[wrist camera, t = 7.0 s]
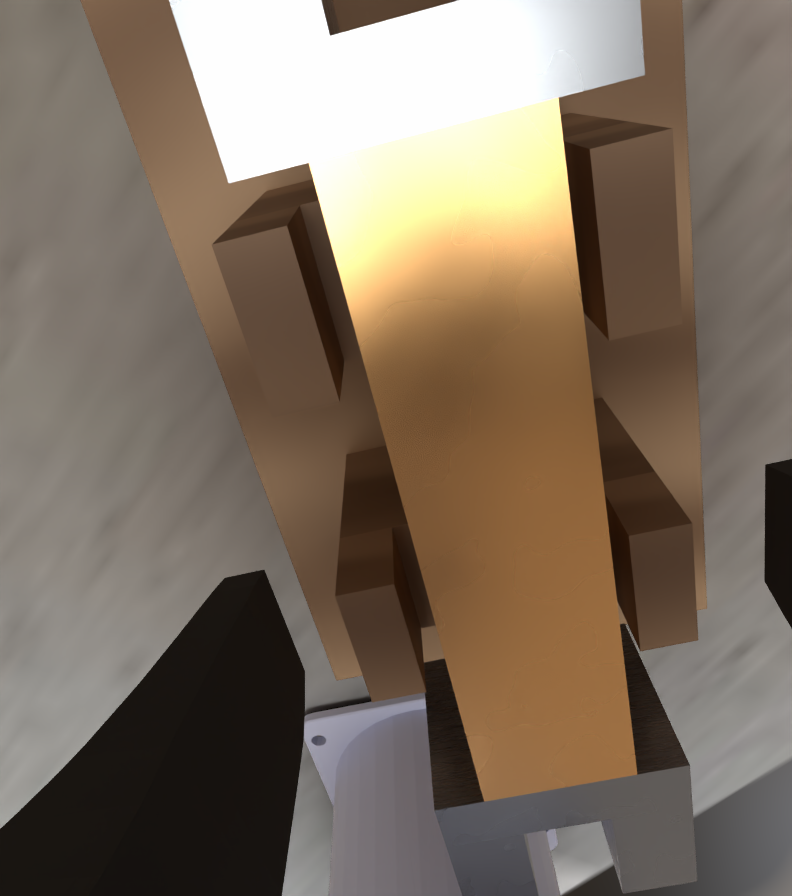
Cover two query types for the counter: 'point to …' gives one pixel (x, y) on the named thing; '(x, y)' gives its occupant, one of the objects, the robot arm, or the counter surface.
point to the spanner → (476, 390)
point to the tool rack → (341, 364)
